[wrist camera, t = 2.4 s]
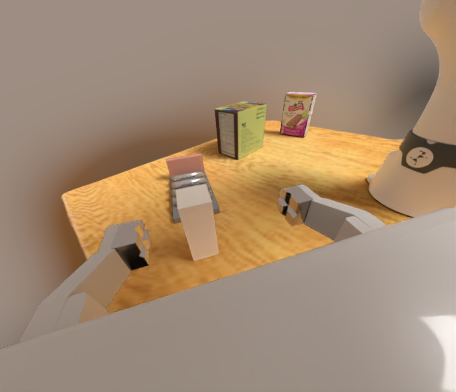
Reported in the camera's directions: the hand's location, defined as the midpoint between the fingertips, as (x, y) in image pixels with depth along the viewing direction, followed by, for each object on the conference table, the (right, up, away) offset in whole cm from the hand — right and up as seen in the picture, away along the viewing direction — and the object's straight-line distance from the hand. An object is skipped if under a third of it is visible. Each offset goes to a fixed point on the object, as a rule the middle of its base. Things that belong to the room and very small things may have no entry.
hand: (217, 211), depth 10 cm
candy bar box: (+30, +29, +67) cm, 79 cm away
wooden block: (-4, -9, +21) cm, 23 cm away
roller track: (-9, +2, +35) cm, 36 cm away
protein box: (+6, +19, +56) cm, 60 cm away
